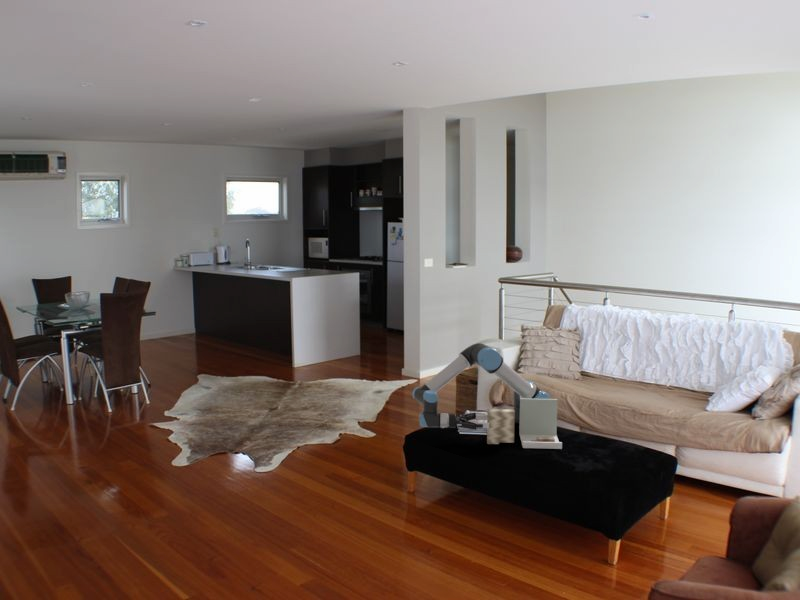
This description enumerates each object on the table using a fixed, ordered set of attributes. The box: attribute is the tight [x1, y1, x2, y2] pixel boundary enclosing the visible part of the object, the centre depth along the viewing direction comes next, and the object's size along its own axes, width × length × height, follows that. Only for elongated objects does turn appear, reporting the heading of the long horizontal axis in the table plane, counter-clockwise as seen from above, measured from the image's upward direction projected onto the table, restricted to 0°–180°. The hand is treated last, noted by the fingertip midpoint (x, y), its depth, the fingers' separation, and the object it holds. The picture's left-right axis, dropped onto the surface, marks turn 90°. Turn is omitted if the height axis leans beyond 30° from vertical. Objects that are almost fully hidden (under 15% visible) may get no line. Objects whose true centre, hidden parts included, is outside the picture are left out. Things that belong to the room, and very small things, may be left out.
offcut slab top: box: [536, 437, 555, 442], centre depth 374 cm, size 9×3×2 cm, turn 86°
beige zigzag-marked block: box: [486, 408, 515, 445], centre depth 380 cm, size 14×4×18 cm, turn 86°
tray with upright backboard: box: [518, 398, 563, 450], centre depth 380 cm, size 20×22×21 cm
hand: (488, 421), depth 380 cm, fingers open, 13 cm apart
